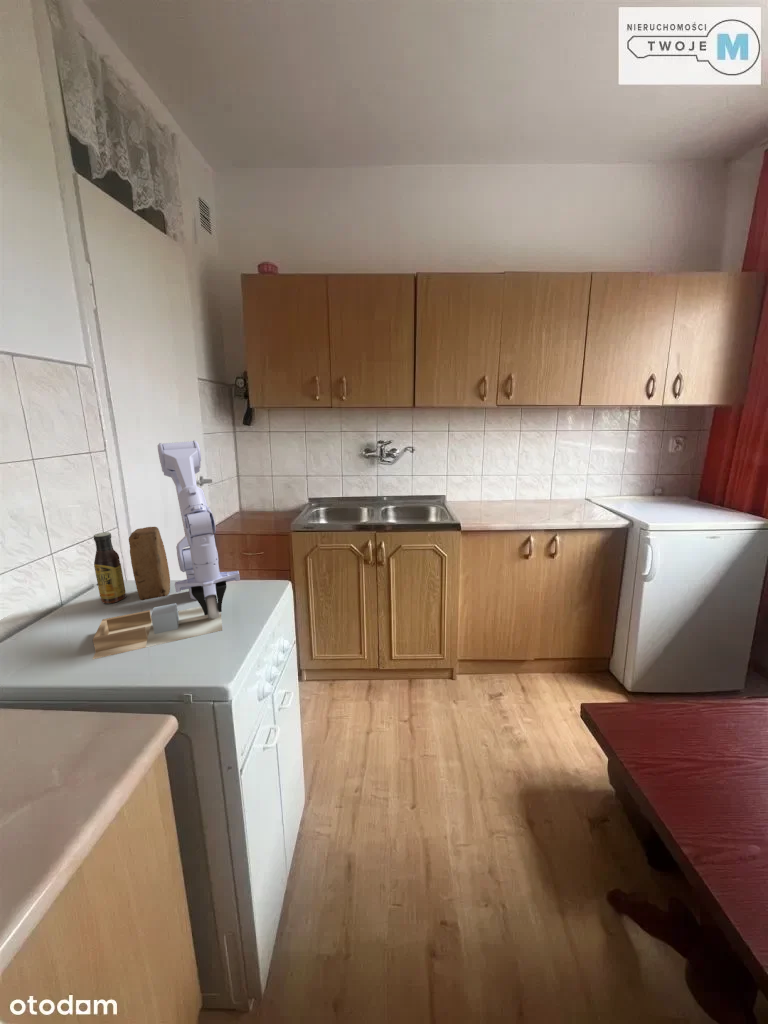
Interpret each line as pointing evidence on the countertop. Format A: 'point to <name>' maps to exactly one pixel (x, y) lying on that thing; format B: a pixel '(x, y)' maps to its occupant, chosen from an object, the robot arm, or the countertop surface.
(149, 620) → the shelf lane
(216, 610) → the block
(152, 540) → the block
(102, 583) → the sauce bottle
